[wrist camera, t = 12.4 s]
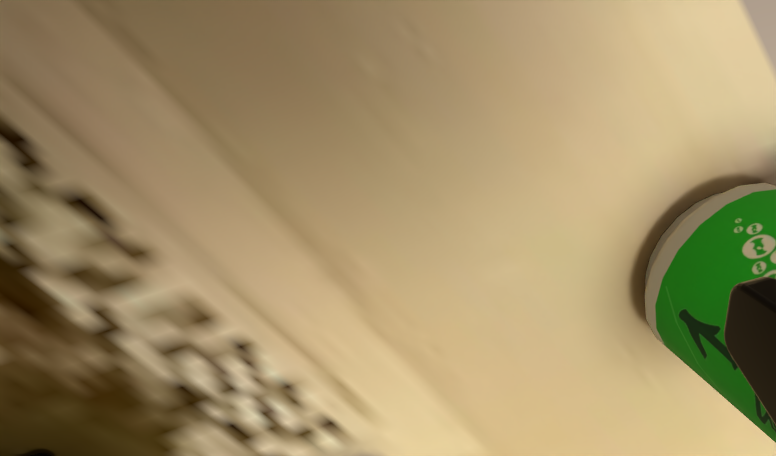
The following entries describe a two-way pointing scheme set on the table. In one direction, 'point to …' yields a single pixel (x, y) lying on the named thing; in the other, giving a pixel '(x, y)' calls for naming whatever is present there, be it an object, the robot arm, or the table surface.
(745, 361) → the robot arm
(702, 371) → the soda can
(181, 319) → the table surface
